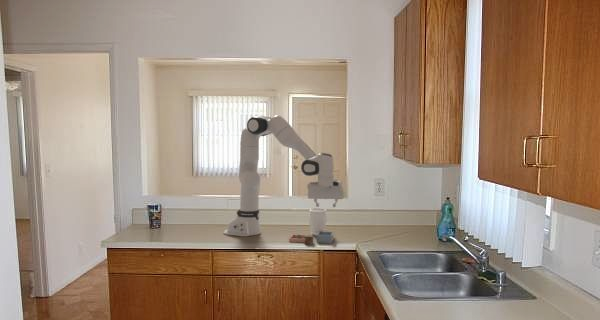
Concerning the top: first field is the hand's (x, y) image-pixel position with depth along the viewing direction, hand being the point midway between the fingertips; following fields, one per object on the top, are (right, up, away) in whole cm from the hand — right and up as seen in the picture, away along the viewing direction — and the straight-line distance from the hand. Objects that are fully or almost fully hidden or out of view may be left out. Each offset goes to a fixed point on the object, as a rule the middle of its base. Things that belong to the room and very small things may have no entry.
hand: (325, 206), depth 235 cm
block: (-10, -20, -4) cm, 23 cm away
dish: (-15, -20, +3) cm, 25 cm away
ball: (-15, -19, +3) cm, 25 cm away
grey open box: (0, -20, +1) cm, 20 cm away
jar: (-4, -19, +19) cm, 27 cm away
